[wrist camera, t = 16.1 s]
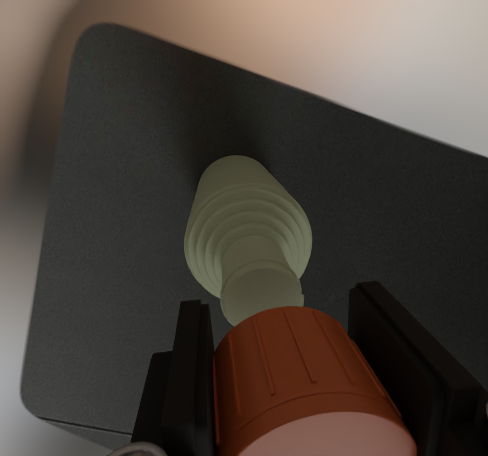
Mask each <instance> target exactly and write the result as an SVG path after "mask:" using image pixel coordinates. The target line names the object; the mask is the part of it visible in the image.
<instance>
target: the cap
mask: <svg viewBox="0 0 488 456" xmlns="http://www.w3.org/2000/svg"><path fill="white" fill-rule="evenodd" d="M213 384H214V425H215V447H216V456H417V445H416V442H415V440H414V438H413V437H412V435H411V434H410V432H409V430H408V429H407V427H406V426H405V424H404V423H403V421H402V419H401V418H402V415H401V414H400V412H399V411H398V409H397V407H396V406H395V404H394V402H393V401H392V399H391V398H390V396H389V395H388V393H387V391H386V390H385V388H384V387H383V385H382V384H381V382H380V381H379V379H378V377H377V376H376V374H375V373H374V371H373V370H372V368H371V367H370V365H369V363H368V362H367V360H366V359H365V357H364V356H363V354H362V353H361V351H360V349H359V348H358V346H357V345H356V343H355V342H354V340H351V339H350V337H349V336H348V334H347V333H346V331H345V329H344V328H343V326H342V325H341V323H340V322H339V321H338V322H337V321H336V320H335V319H333V318H332V317H330V316H329V315H327V314H325V313H323V312H320V311H318V310H315V309H311V308H308V307H300V306H284V307H276V308H272V309H267V310H264V311H261V312H258V313H256V314H254V315H252V316H250V317H248V318H246V319H245V320H243V321H241V322H240V323H239V324H237V325H236V326H235V327H233V328H232V329H231V330H230V331H229V332H228V333H227V334H226V335H225V337H224V338H223V339H222V341H221V342H220V343H219V345H218V347H217V349H216V350H215V353H214V355H213Z"/></svg>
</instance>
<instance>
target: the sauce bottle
mask: <svg viewBox="0 0 488 456" xmlns="http://www.w3.org/2000/svg"><path fill="white" fill-rule="evenodd" d="M311 248H312V233H311V228H310V224H309V221H308V219H307V216H306V214H305V213H304V211H303V209H302V208H301V207H300V205H299V204H298V203H297V202H296V201H295V200H294V198H293V197H292V196H291V195H290V194H289V193H288V192H287V191H286V190H285V189H284V188H283V187H282V186H281V184H280V183H279V182H278V181H277V180H276V179H275V178H274V177H273V176H272V175H271V174H270V173H269V171H268V170H267V169H266V168H265V167H264V166H263V165H262V164H260V163H259V162H258V161H256V160H254V159H252V158H250V157H246V156H241V155H232V156H226V157H223V158H221V159H218V160H217V161H215V162H213V163H212V164H211V165H210V166H209V167H208V168H207V169H206V170H205V171H204V173H203V174H202V176H201V178H200V181H199V184H198V188H197V191H196V195H195V199H194V202H193V206H192V210H191V213H190V217H189V221H188V224H187V228H186V232H185V238H184V250H185V256H186V261H187V263H188V266H189V268H190V270H191V272H192V274H193V275H194V277H195V278H196V279H197V281H198V282H199V283H200V284H201V285H202V286H203V287H204V288H205V289H206V290H207V291H209V292H210V293H211V294H213V295H215V296H216V297H218V298H220V304H221V308H222V311H223V314H224V315H225V317H226V318H227V320H228V322H230V323H231V324H232V325H233V326H234V327H235V326H236V325H237V324H239V323H240V322H241V321H243V320H245V319H246V318H248V317H250V316H252V315H254V314H256V313H258V312H261V311H264V310H267V309H272V308H276V307H284V306H300V307H302V306H303V302H304V295H301V291H302V290H301V285H300V281H299V278H300V277H301V275H302V274H303V272H304V270H305V268H306V266H307V263H308V260H309V257H310V253H311Z"/></svg>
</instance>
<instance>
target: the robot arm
mask: <svg viewBox="0 0 488 456" xmlns="http://www.w3.org/2000/svg"><path fill="white" fill-rule="evenodd" d="M348 336H349V337H350V339H351V340H354V342H355V343H356V345H357V346H358V348H359V349H360V351H361V353H362V354H363V356H364V357H365V359H366V360H367V362H368V363H369V365H370V367H371V368H372V370H373V371H374V373H375V374H376V376H377V377H378V379H379V381H380V382H381V384H382V385H383V387H384V388H385V390H386V391H387V393H388V395H389V396H390V398H391V399H392V401H393V402H394V404H395V406H396V407H397V409H398V411H399V412H400V414H401V415H402V418H401V419H402V421H403V423H404V424H405V426H406V427H407V429H408V430H409V432H410V434H411V435H412V437H413V438H414V440H415V442H416V445H417V456H488V392H487V391H486V390H485V389H484V388H483V387H482V385H481V384H480V383H479V382H478V381H477V380H476V379H475V378H474V377H473V376H472V375H471V374H470V373H469V372H468V371H467V370H466V369H465V368H464V367H463V366H462V365H461V364H460V363H459V362H458V361H457V360H456V359H455V358H454V357H453V356H452V355H451V354H450V353H449V352H448V351H447V350H446V349H445V348H444V347H443V346H442V345H441V344H440V343H439V342H438V341H437V340H436V339H435V338H434V337H433V336H432V335H431V334H430V333H429V332H428V331H427V330H426V329H425V328H424V327H423V326H422V325H421V324H420V323H419V322H418V321H417V320H416V319H415V318H414V317H413V316H412V315H411V314H410V313H409V312H408V311H407V310H406V309H405V308H404V307H403V306H402V305H401V304H400V303H399V302H398V301H397V300H396V299H395V298H394V297H393V296H392V295H391V294H390V293H389V292H388V291H387V290H386V289H385V288H384V287H383V286H382V285H381V284H380V283H379V282H378V281H371V282H362V283H357V284H356V286H355V288H353V289H350V293H349V314H348ZM213 355H214V344H213V335H212V326H211V318H210V309H209V304H202V303H201V299H200V300H191V301H182V302H181V304H180V310H179V316H178V322H177V328H176V334H175V340H174V346H173V351H168V352H159V353H154V354H153V355H152V358H151V361H150V366H149V370H148V374H147V378H146V382H145V386H144V390H143V394H142V398H141V402H140V406H139V410H138V414H137V418H136V422H135V426H134V430H133V434H132V438H131V442H130V443H129V444H127V445H124V446H122V447H120V448H117V449H116V450H114V451H113V452H111V453H110V454H109V455H107V456H216V447H215V425H214V384H213Z"/></svg>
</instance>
